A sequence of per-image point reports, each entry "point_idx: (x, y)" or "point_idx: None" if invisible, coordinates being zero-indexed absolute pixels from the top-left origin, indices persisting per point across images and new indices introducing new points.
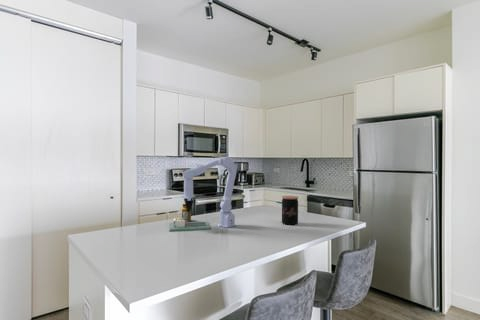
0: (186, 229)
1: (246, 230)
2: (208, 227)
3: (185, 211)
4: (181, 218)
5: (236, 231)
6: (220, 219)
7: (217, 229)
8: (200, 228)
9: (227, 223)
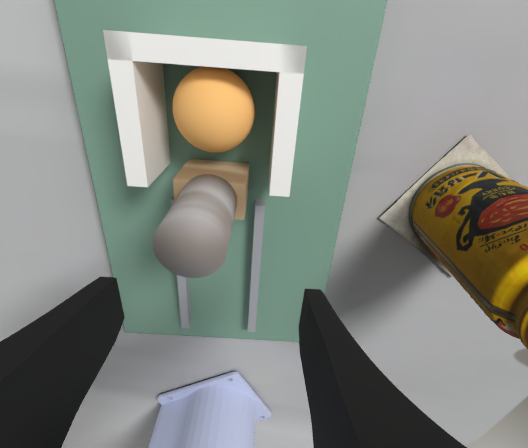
0: (95, 168)
1: (98, 444)
2: (123, 323)
3: (485, 253)
4: (272, 160)
5: (78, 413)
6: (204, 424)
7: (127, 353)
8: (115, 274)
9: (156, 425)
